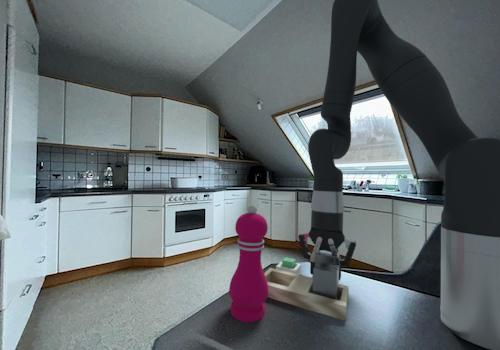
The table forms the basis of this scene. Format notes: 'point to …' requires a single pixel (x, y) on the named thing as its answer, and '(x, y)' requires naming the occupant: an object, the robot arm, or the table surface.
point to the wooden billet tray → (305, 293)
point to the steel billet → (324, 257)
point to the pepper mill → (249, 269)
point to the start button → (289, 262)
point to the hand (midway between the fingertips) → (325, 278)
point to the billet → (326, 280)
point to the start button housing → (296, 270)
